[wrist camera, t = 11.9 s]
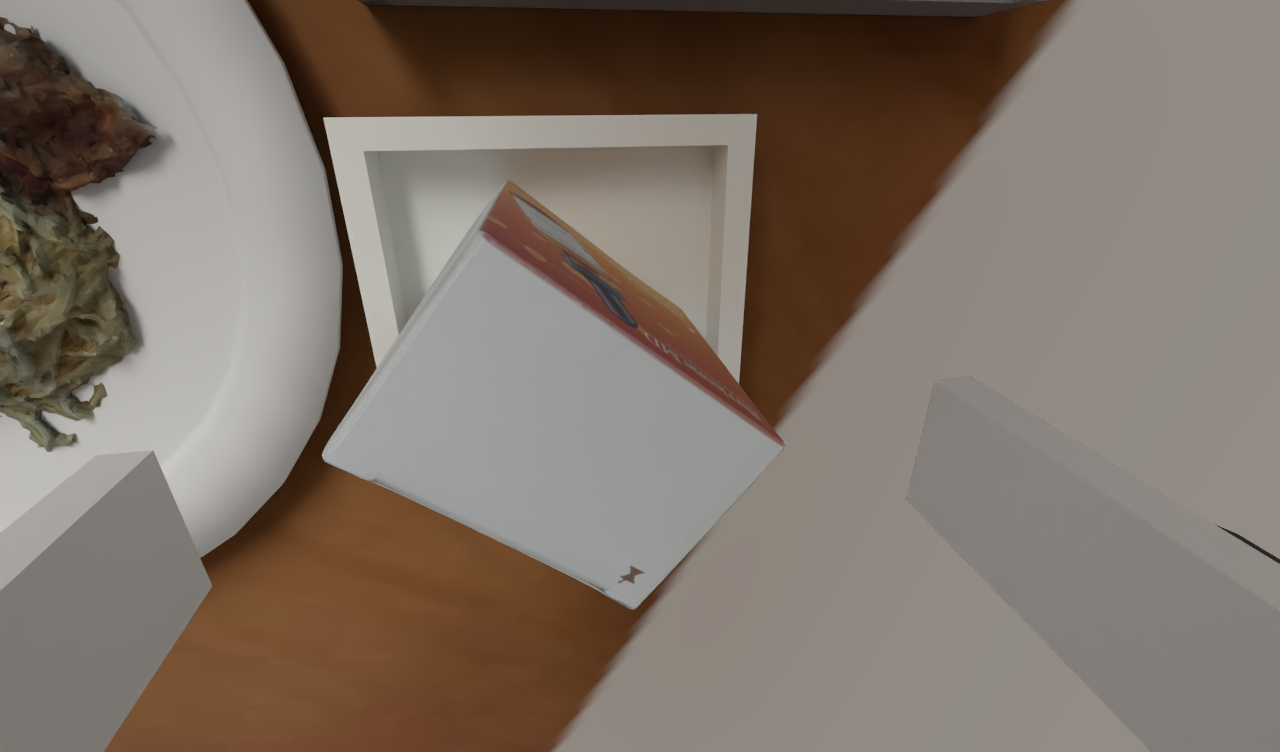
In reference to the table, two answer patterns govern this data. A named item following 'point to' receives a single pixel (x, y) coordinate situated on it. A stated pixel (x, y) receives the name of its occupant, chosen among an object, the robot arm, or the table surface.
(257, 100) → the plated food
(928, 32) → the table surface
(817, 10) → the printer
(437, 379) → the small box
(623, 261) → the tray
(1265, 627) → the robot arm
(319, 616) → the table surface
